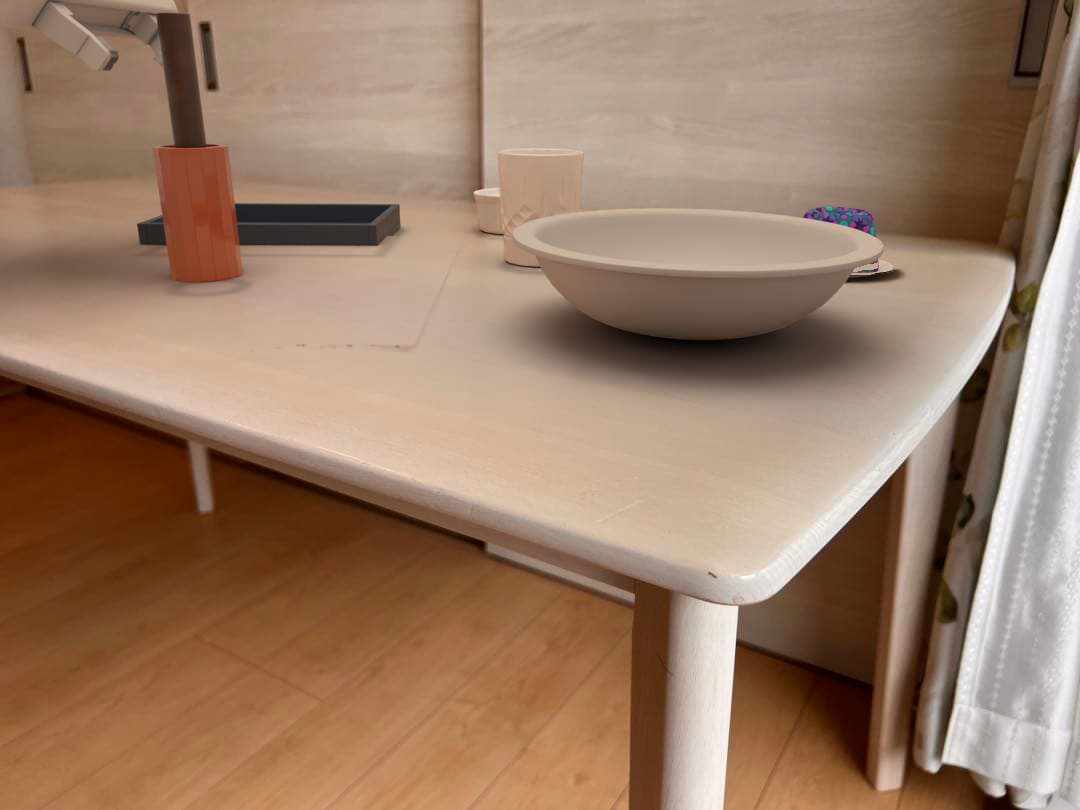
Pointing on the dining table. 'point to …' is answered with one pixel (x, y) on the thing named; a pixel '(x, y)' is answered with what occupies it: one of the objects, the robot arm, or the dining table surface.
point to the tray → (300, 224)
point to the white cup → (536, 191)
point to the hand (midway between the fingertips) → (147, 66)
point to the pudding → (853, 220)
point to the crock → (198, 212)
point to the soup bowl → (695, 267)
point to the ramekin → (489, 210)
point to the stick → (181, 79)
